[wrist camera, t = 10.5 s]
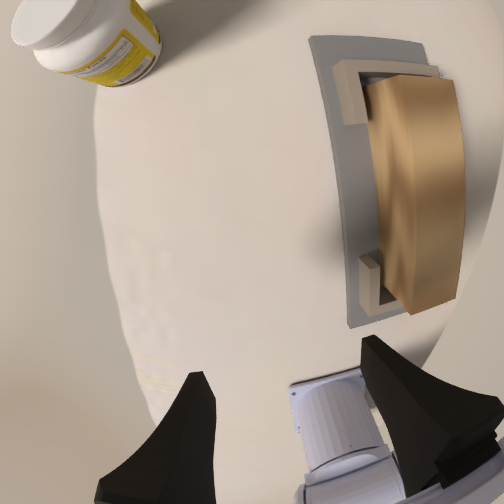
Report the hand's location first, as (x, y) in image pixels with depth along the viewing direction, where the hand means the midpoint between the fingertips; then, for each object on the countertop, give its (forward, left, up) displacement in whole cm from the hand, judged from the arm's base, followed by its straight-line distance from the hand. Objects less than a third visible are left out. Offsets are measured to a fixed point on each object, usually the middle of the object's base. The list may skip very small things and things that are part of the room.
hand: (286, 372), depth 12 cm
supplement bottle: (+18, +6, -10) cm, 21 cm away
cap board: (+5, -11, -9) cm, 15 cm away
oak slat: (+5, -11, -9) cm, 14 cm away
